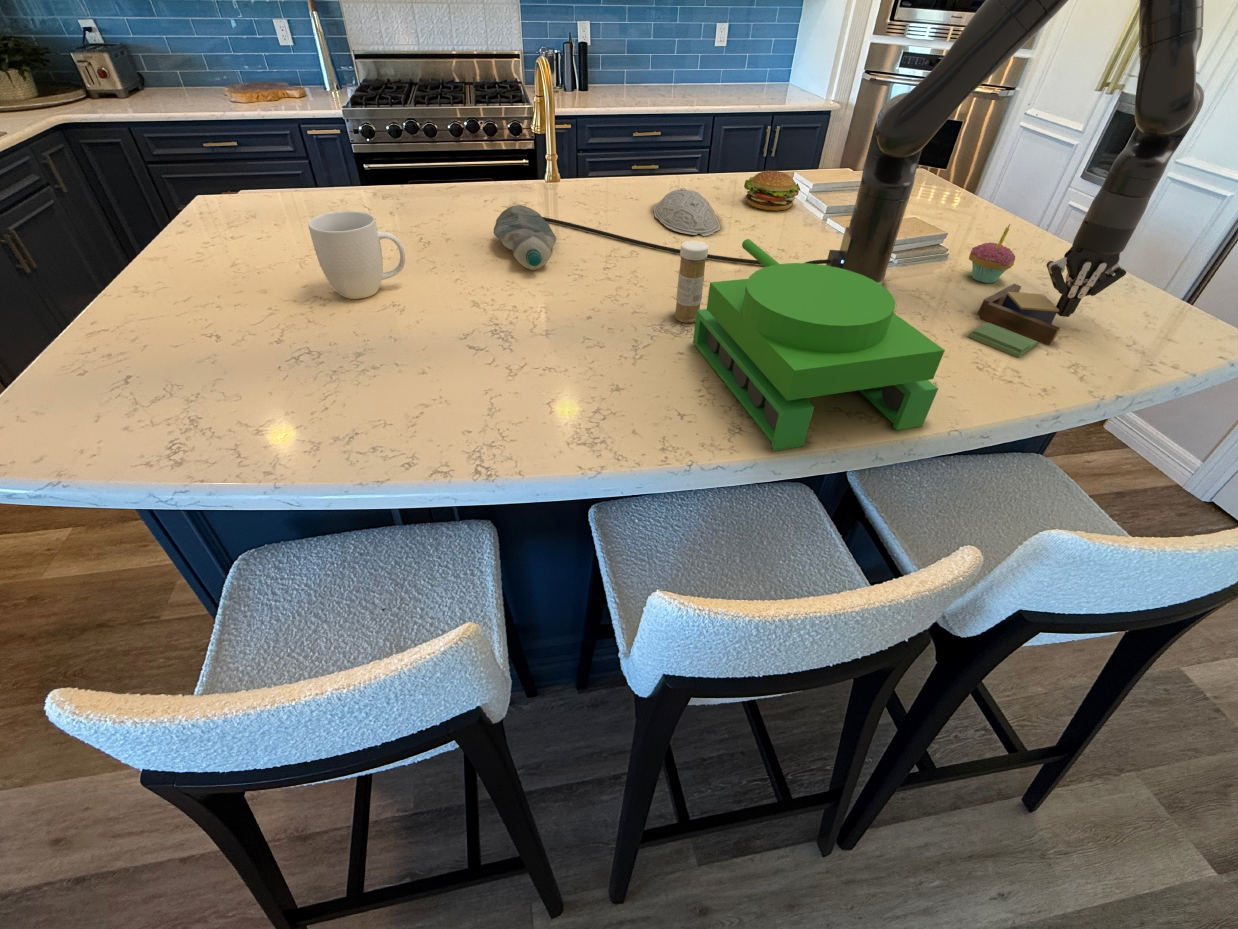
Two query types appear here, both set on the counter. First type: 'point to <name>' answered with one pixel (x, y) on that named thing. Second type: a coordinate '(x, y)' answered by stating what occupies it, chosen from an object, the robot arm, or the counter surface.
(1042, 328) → the corner guide
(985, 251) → the cupcake
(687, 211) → the grey turtle shell
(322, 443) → the counter surface
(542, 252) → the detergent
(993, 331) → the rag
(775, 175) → the food
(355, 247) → the mug
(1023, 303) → the tea tin
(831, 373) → the tank
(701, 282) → the sprinkles bottle
